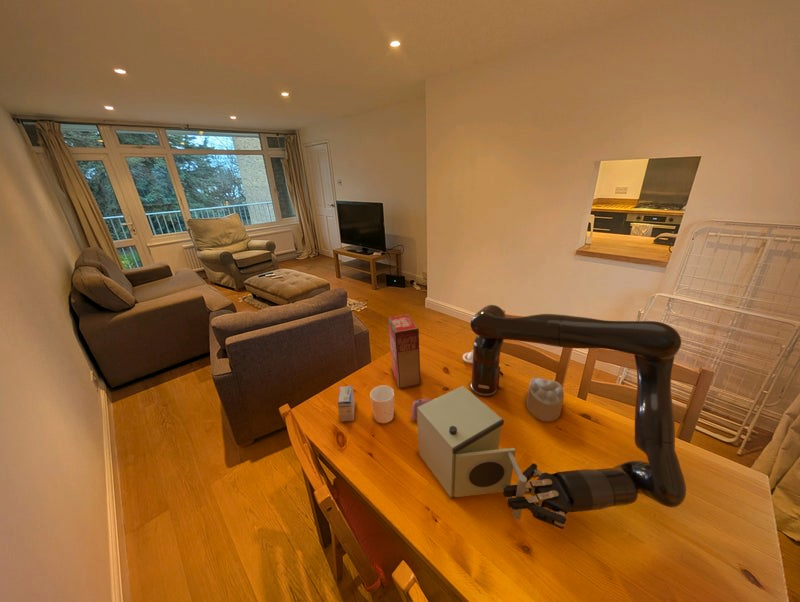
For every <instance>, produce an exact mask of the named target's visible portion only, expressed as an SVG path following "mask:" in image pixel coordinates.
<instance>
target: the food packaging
mask: <svg viewBox="0 0 800 602" xmlns="http://www.w3.org/2000/svg"><path fill="white" fill-rule="evenodd" d="M387 323H388V324H387V325H388V334H389V345H390V355H391V367H392V368H391V370H392V373H393V376H394V379H395V381H396V384H397V386H398V389H400V390H401V389H406V388H411V387H416V386H420V385H421V384H422V380H421V356H420V333H419V332H420V330H419V327H418V326H417V324H416V323H415V321H414V320H413V318H412V316H411V315H410V313H404V314H399V315H393V316H388V317H387Z"/></svg>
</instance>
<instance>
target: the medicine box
mask: <svg viewBox="0 0 800 602" xmlns="http://www.w3.org/2000/svg"><path fill="white" fill-rule="evenodd" d="M337 406H338V411H339V412H338V413H339V418H340V422H341V423H342V422H353V421H354V420H355V407H356V401H355V392H354V386H353V385H346V386H340V387H339V394H338V401H337Z"/></svg>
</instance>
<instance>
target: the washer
mask: <svg viewBox="0 0 800 602" xmlns="http://www.w3.org/2000/svg"><path fill="white" fill-rule="evenodd" d="M416 419H417V443H418V445H417V448H418V455H419V456H420V459H422V461H423V462H424V463H425V465H426V466H427V467H428V469H429V470H430V472H431V473H432V474H433V475H434V477H435V478H436V479H437V481H438V482H439V484H440V486H441V487H442V488H443V489H444V491H445V492H446V494H447V495H448V496H449V497H450V498H451V499H452V498H453V497H455V496H454V483H455V458H456V454H461V453H470V452H479V451H488V450H497V449H500V441H501V433H502V426H504V424H505V420H504V419H503V418H502V417H501V416H500V415H498V414H497V412H495V411H494V410H493V409H492V408H490V407H489V406H488V405H486V403H484V402H483V401H482V400H480V398H478V397H477V396H476V395H475V394H474V393H473V392H471V391H470V390H469V389H468V388H467V387H465V386H464V385H461V386H459V387H456V388H454V389H453V390H450V391H449V392H446V393H444V394H442V395H440V396H438V397H436V398H434V399H432V400H431V401H429V402H427V403H425V404H423V405H421V406H419V407H417V415H416Z"/></svg>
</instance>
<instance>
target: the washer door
mask: <svg viewBox="0 0 800 602" xmlns="http://www.w3.org/2000/svg"><path fill="white" fill-rule="evenodd" d="M516 452H517V450H516V448H515V447H505V448H499V449H497V450H488V451H479V452H470V453H461V454H456V458H455V483H454V496H453V497H454V498H460V497H468V496H477V495H486V494H493V493H501V492H503V490H504V488H505V487H506V486H508V485H511V482H512V476H513V471H514V474H515V475H516V477H517V484H518V485H517V484H516V485H517V491H516V496H514V498H517V497H525V495H524V493H525V488H526V483H527V478H526V477H525V476H524V475H523V474H522V473H523V472H522V470H521V467H519V464H518V461H517V459H516V458H515V457H516ZM509 498H513V497H506V499H507V500H508V499H509ZM510 509H511V512H512V513H511V515H512V518H513V519H514V520H516V521H518V520H520V519H521V514H522V509H517V510H514V509H512V508H510Z"/></svg>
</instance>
